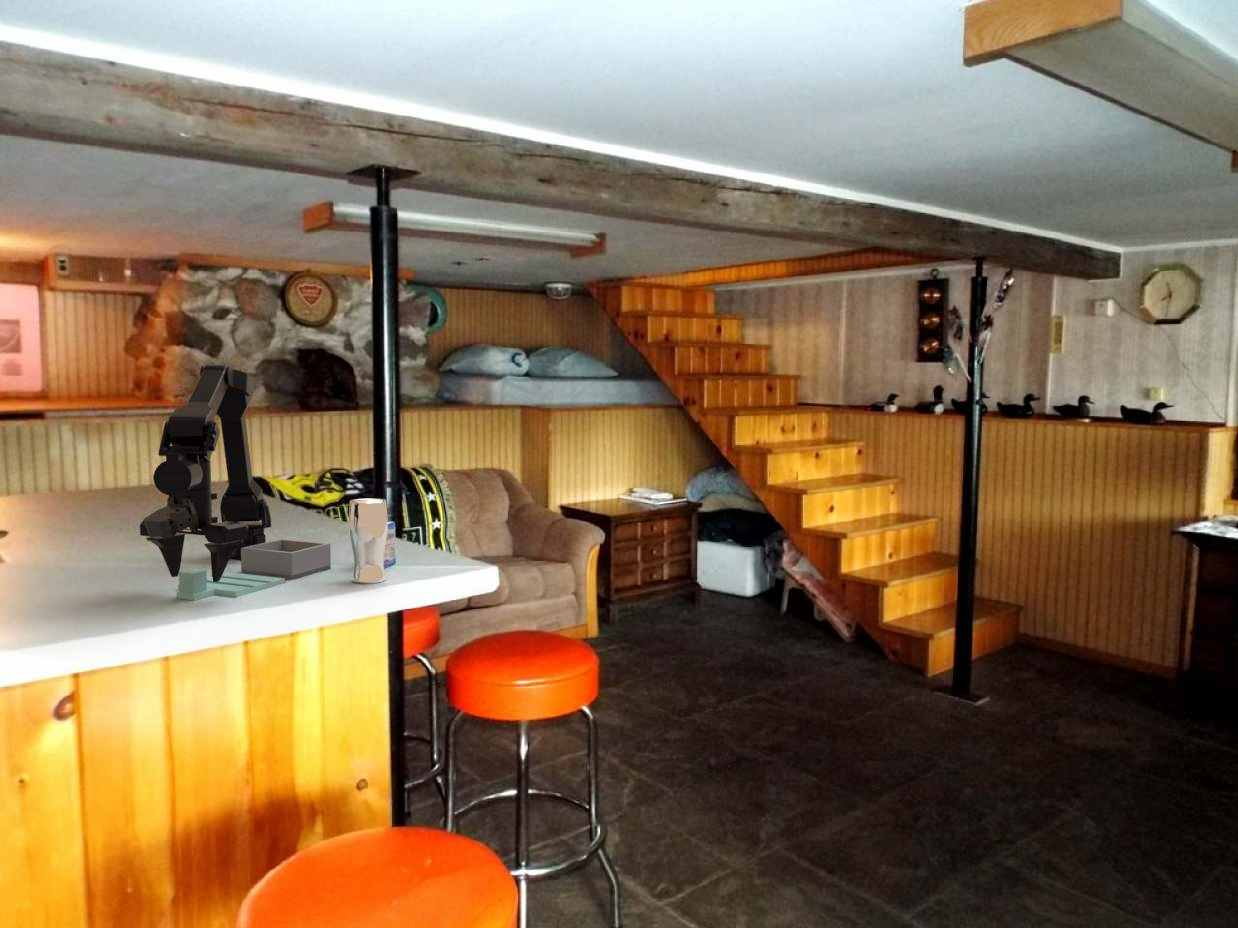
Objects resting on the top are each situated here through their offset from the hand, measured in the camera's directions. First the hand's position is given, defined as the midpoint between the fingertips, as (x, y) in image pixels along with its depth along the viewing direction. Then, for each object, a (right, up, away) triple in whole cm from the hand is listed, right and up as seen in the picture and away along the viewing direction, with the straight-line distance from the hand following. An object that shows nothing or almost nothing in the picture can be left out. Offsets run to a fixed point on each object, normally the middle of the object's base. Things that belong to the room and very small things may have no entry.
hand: (195, 579), depth 157 cm
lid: (+2, -3, +6) cm, 7 cm away
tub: (+8, -1, +21) cm, 23 cm away
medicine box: (+24, -1, +27) cm, 36 cm away
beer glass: (+26, -2, +15) cm, 30 cm away
